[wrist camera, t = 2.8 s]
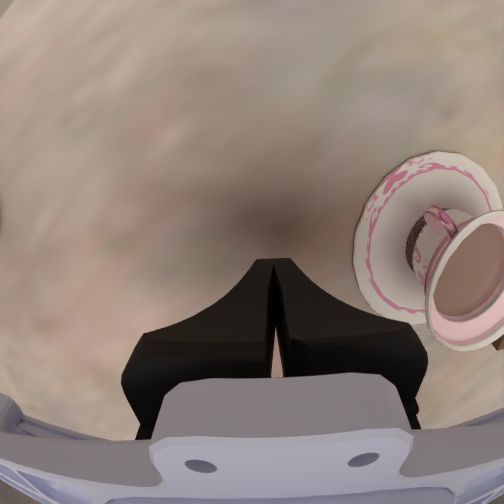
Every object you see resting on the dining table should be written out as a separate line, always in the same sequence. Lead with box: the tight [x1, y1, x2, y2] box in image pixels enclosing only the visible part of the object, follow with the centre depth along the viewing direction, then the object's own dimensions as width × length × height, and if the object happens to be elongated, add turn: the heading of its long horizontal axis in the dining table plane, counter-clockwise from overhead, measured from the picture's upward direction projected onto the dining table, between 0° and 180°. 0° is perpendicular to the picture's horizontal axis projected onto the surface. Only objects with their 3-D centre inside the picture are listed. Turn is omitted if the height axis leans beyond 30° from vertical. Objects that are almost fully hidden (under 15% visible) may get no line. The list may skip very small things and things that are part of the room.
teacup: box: [352, 151, 504, 351], centre depth 15 cm, size 12×12×6 cm
